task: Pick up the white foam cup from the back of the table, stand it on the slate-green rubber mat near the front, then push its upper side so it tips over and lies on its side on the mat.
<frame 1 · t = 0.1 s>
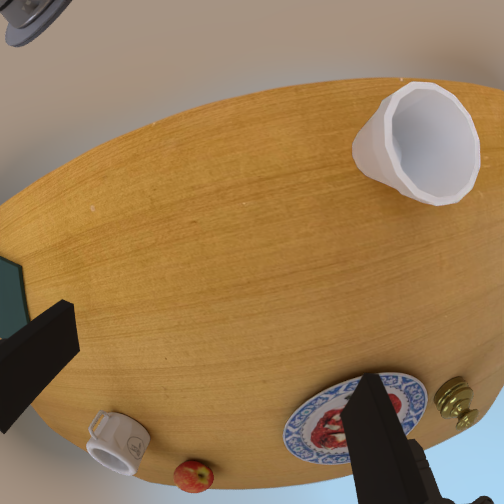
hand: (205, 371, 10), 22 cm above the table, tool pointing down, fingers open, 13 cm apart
ceramic plate: (356, 418, 38), on the table
mat: (8, 305, 38), on the table
apple: (196, 463, 45), on the table
foam cup: (376, 152, 28), on the table
mug: (124, 423, 43), on the table
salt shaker: (448, 390, 36), on the table
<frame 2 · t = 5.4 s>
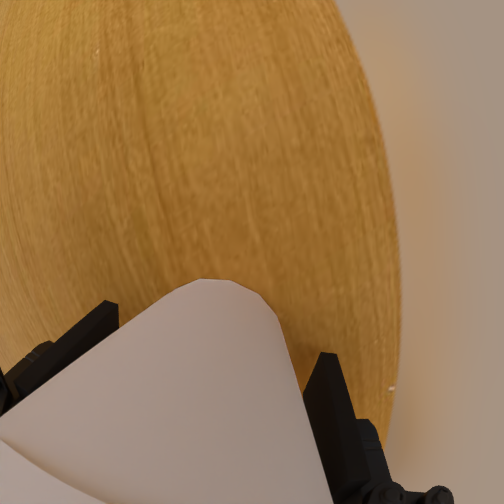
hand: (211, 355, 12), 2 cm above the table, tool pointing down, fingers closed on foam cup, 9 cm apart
foam cup: (218, 335, 13), on the table, touching gripper
when the fingers open (2 cm above the table, at t = 16.6 s): foam cup stays where it is, resting on mat.
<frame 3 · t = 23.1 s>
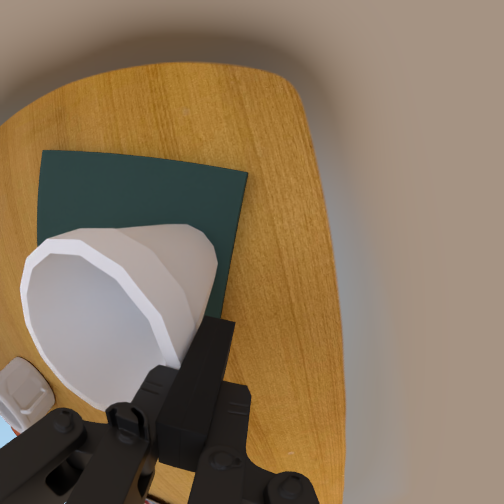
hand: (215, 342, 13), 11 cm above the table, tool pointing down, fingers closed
ceramic plate: (139, 500, 43), on the table
mat: (117, 240, 24), on the table
foam cup: (181, 260, 23), point 1 cm above the table, touching gripper, mat
mug: (38, 380, 32), on the table
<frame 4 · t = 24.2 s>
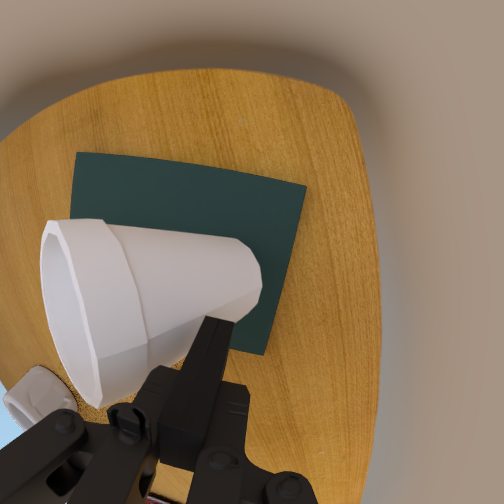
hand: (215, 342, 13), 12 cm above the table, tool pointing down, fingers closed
mat: (164, 250, 24), on the table
foam cup: (229, 277, 21), point 3 cm above the table, touching gripper, mat
mug: (59, 389, 33), on the table
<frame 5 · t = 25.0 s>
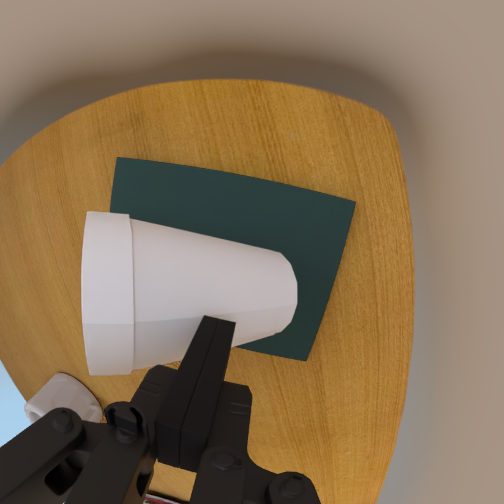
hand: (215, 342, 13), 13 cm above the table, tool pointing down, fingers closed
mat: (212, 260, 25), on the table
foam cup: (271, 292, 21), point 4 cm above the table, touching gripper, mat
mug: (83, 396, 34), on the table
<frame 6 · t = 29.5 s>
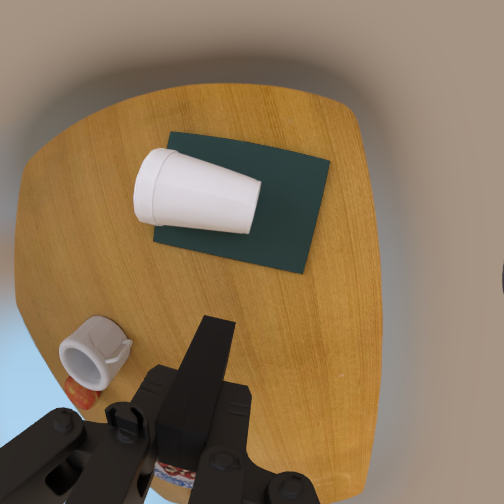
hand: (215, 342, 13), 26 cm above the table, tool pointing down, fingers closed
ceramic plate: (183, 465, 56), on the table
mat: (237, 200, 37), on the table
apple: (90, 380, 50), on the table
foam cup: (256, 208, 32), point 6 cm above the table, touching mat
mug: (112, 337, 45), on the table
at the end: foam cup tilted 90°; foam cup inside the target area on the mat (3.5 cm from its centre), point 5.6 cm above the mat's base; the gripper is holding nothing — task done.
